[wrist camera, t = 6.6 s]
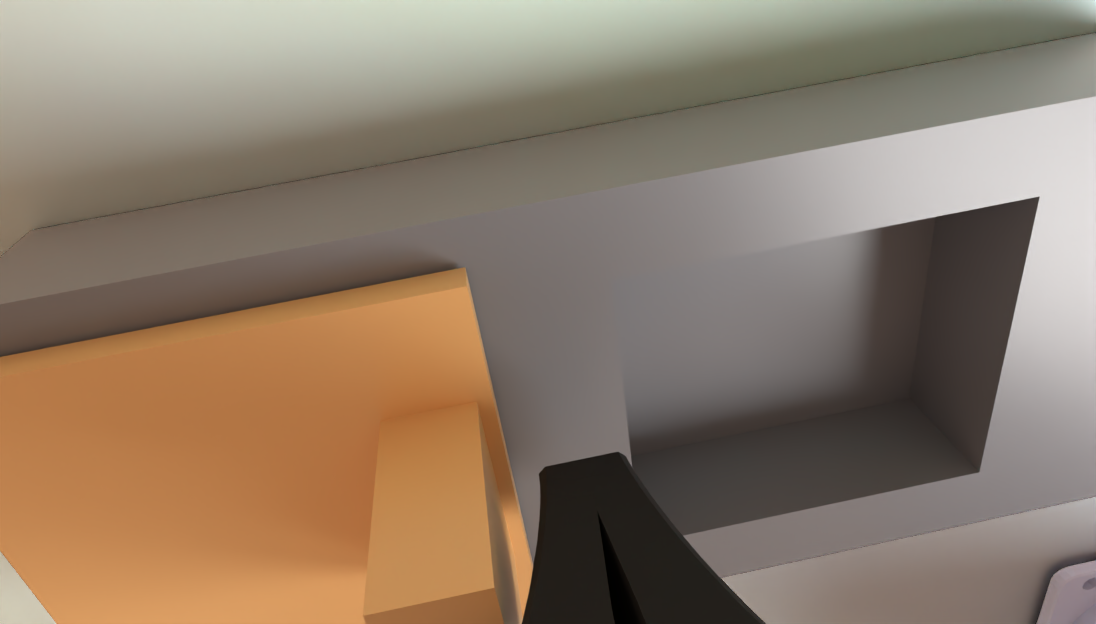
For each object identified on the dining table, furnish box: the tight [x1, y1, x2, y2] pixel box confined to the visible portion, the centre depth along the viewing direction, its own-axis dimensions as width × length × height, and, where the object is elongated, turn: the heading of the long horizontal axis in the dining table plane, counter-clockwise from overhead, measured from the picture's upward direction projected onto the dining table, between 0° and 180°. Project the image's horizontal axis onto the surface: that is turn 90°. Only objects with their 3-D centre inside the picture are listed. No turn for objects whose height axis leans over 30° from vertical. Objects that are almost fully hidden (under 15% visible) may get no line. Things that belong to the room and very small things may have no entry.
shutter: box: [0, 267, 533, 624], centre depth 11 cm, size 8×8×4 cm
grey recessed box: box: [0, 33, 1096, 578], centre depth 14 cm, size 20×9×3 cm, turn 98°
